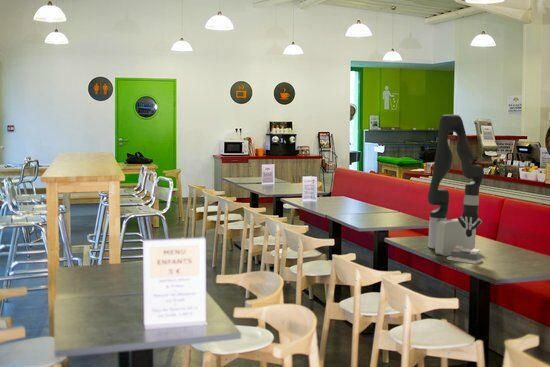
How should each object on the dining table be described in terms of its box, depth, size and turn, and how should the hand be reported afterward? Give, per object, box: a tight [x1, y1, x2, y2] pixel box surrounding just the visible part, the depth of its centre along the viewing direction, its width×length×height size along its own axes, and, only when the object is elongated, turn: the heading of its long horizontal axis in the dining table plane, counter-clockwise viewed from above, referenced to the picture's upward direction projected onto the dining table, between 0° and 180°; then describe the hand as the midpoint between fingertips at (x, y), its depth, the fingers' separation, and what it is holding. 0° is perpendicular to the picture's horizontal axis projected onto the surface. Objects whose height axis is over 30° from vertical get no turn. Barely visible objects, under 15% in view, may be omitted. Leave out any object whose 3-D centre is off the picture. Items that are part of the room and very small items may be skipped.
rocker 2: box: [470, 248, 481, 254], centre depth 343 cm, size 5×3×1 cm, turn 142°
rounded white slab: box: [434, 218, 477, 257], centre depth 364 cm, size 29×8×18 cm, turn 129°
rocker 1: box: [453, 245, 463, 252], centre depth 348 cm, size 5×3×1 cm, turn 142°
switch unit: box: [446, 251, 484, 265], centre depth 345 cm, size 10×15×4 cm, turn 52°
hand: (468, 236), depth 347 cm, fingers closed
